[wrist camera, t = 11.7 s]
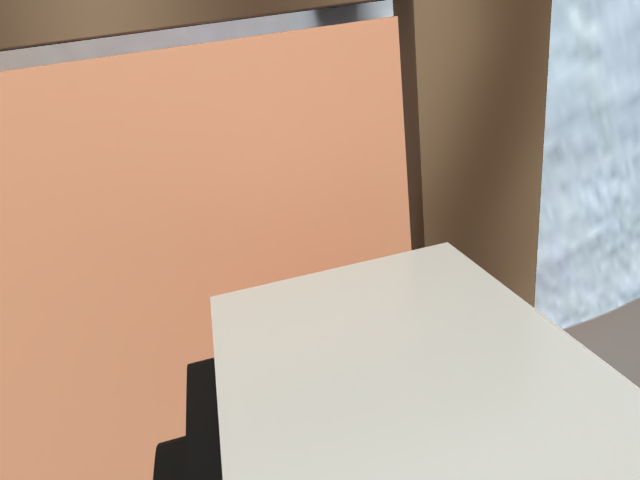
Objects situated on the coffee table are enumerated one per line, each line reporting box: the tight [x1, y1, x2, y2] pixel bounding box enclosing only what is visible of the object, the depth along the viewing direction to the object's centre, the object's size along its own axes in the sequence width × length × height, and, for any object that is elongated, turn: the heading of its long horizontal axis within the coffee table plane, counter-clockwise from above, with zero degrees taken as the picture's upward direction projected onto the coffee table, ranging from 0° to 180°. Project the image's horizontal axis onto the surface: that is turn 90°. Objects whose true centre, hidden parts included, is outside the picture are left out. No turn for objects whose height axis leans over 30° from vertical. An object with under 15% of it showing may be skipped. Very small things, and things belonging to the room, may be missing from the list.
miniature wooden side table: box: [0, 0, 552, 308], centre depth 19 cm, size 25×22×14 cm
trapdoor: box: [0, 16, 411, 480], centre depth 14 cm, size 21×14×4 cm
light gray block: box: [210, 242, 640, 480], centre depth 8 cm, size 5×5×6 cm
